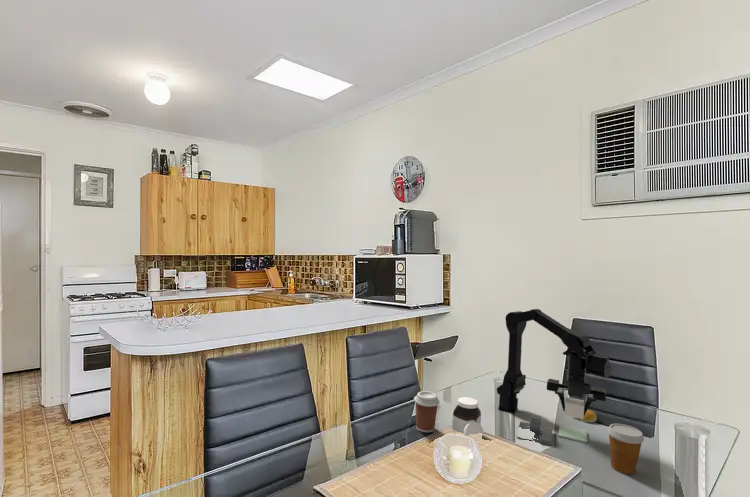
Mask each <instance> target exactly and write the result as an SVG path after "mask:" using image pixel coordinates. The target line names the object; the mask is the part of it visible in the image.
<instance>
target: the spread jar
mask: <svg viewBox="0 0 750 497" xmlns="http://www.w3.org/2000/svg"><path fill="white" fill-rule="evenodd" d="M478 406H479V401H478V400H476V399H474V398H472V397H465V396H463V397H459V398H457V405H456V406H455V408H454V410H453V413H452V421H451V422H452V423H451V427H452V428H451V430H452V431H453V430H455V431H457V432H461V433H464V435H465V436H467V435H470V434H478V433H482V434H484V428H483V426H482V425H481V423H482V410H480V407H478Z"/></svg>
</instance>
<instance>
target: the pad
mask: <svg viewBox="0 0 750 497" xmlns="http://www.w3.org/2000/svg"><path fill="white" fill-rule="evenodd" d="M558 437H560V438H562V439H568V440H572V441H575V442H580V443H583V444H588V431H587V430H583V429H578V428H574V427H570V426H565V425H560V424H559V427H558Z"/></svg>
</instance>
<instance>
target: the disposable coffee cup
mask: <svg viewBox="0 0 750 497" xmlns="http://www.w3.org/2000/svg"><path fill="white" fill-rule="evenodd" d="M607 432H608V436H609V438H608V440H609V451H610V464H611V465H610V467H612V469H614V470H615V471H616V472H619V473H621V474H624V475H634V474H636V469H637V465H638V460H639V458H640V457H639V456H640V452H641V448H642V443H643V441H644V440H645V437H644V435H643V431H641V430H639V429H638V428H636V427H634V426H631V425H628V424H623V423H610V425H609V426H608V427H607Z"/></svg>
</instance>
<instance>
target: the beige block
mask: <svg viewBox="0 0 750 497" xmlns="http://www.w3.org/2000/svg"><path fill="white" fill-rule="evenodd" d="M584 405H585V400H584V399H579V398H574V397H570V396H569V397H567V396H565V412H564V414H563V415H564V416H568V417H573V418H574V417H577V418H581V419H583V417H584Z"/></svg>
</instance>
